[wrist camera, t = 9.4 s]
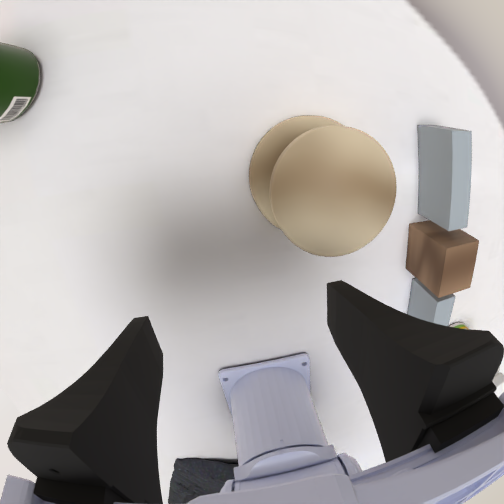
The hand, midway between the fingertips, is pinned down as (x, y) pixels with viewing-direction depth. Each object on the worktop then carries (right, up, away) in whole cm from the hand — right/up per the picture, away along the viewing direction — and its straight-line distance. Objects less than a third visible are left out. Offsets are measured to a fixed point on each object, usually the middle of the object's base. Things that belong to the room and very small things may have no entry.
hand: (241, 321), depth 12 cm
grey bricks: (+15, +3, +12) cm, 19 cm away
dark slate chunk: (-5, -33, +26) cm, 42 cm away
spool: (+4, +8, +8) cm, 12 cm away
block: (+15, +3, +12) cm, 19 cm away
